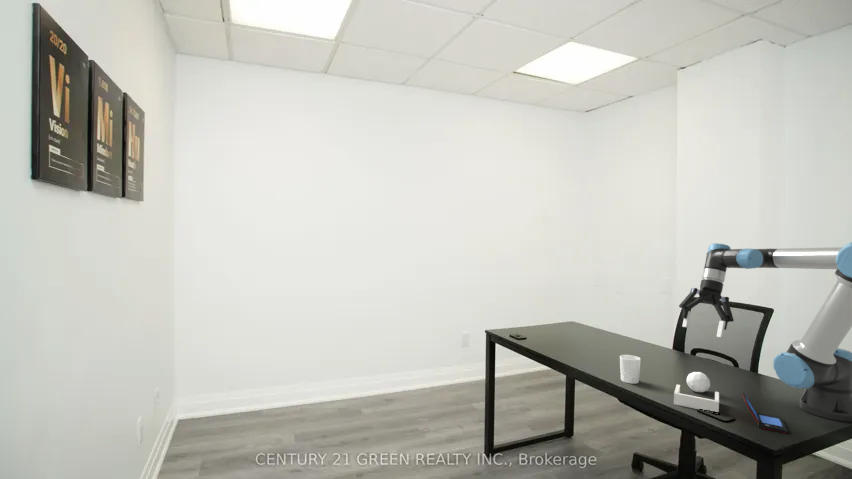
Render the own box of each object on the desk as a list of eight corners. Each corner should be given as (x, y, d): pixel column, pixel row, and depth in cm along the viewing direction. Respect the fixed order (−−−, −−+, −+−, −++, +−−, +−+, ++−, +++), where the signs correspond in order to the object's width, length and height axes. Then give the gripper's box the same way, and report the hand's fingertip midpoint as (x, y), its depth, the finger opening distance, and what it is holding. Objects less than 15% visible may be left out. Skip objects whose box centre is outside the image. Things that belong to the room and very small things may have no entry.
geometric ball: (703, 398, 165) (718, 384, 163) (692, 394, 161) (708, 380, 159) (688, 383, 171) (703, 369, 169) (678, 379, 168) (692, 365, 165)
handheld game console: (788, 435, 130) (789, 411, 130) (745, 426, 136) (745, 403, 136) (781, 419, 141) (782, 398, 141) (741, 412, 147) (741, 391, 147)
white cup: (642, 385, 171) (643, 360, 171) (622, 383, 173) (622, 359, 173) (636, 378, 179) (637, 355, 179) (617, 377, 181) (617, 354, 180)
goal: (676, 394, 162) (676, 384, 162) (718, 402, 154) (718, 392, 154) (673, 404, 152) (674, 393, 152) (718, 413, 145) (718, 402, 145)
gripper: (737, 290, 173) (727, 340, 171) (676, 273, 176) (665, 322, 173) (750, 289, 166) (740, 342, 163) (686, 271, 168) (675, 323, 166)
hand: (702, 332), depth 168 cm, fingers open, 13 cm apart
